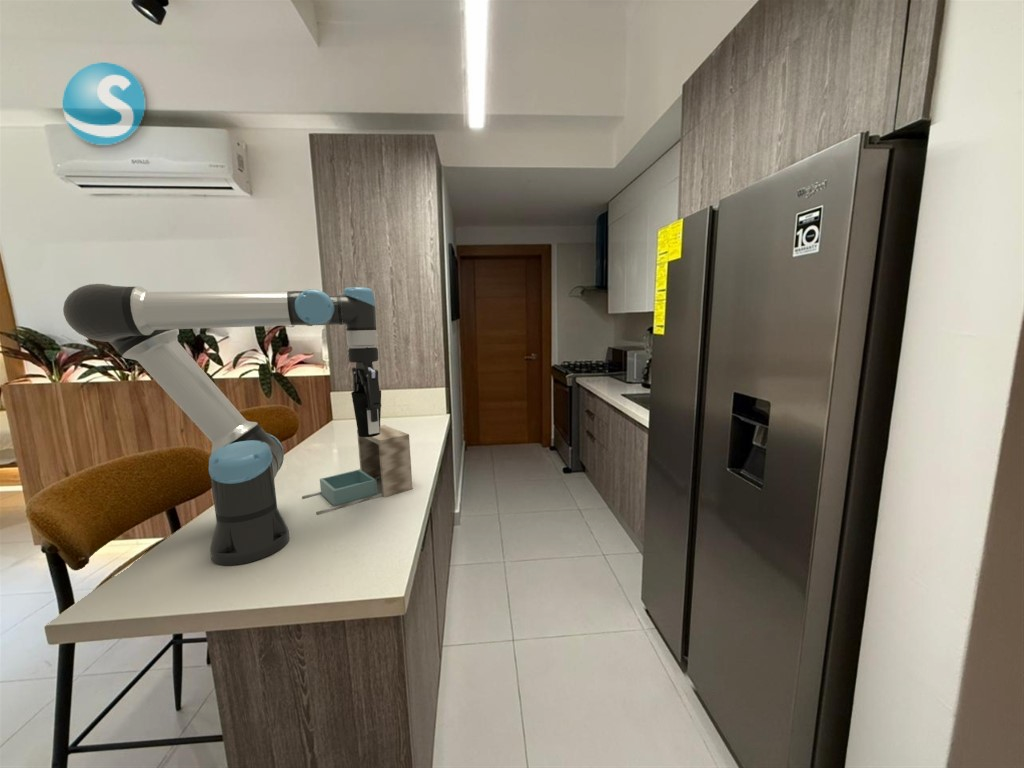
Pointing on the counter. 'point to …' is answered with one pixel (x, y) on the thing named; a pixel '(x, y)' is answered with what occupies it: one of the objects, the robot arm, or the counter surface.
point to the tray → (348, 487)
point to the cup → (363, 413)
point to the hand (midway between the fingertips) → (368, 430)
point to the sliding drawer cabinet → (383, 463)
